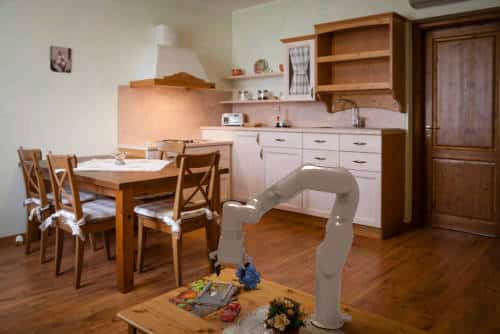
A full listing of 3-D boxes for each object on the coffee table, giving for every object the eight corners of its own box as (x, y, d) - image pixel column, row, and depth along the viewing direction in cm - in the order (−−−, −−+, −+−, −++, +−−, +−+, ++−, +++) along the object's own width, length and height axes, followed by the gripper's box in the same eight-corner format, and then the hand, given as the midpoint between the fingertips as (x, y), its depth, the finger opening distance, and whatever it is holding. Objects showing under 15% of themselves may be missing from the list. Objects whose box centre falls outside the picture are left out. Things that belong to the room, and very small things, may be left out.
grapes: (233, 291, 194) (234, 265, 192) (235, 285, 201) (236, 260, 199) (259, 293, 193) (260, 266, 191) (261, 287, 199) (261, 261, 198)
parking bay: (237, 287, 198) (237, 282, 198) (224, 307, 178) (224, 301, 178) (207, 284, 201) (207, 279, 201) (192, 303, 181) (192, 298, 180)
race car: (231, 324, 165) (231, 314, 164) (218, 322, 166) (218, 312, 166) (243, 309, 177) (243, 300, 176) (230, 307, 179) (230, 298, 178)
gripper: (255, 233, 170) (254, 275, 172) (213, 229, 173) (211, 270, 175) (251, 238, 162) (250, 282, 164) (207, 234, 166) (206, 277, 168)
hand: (230, 276), depth 170 cm, fingers open, 9 cm apart
